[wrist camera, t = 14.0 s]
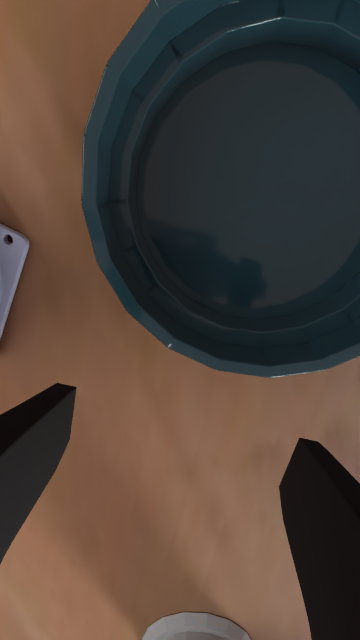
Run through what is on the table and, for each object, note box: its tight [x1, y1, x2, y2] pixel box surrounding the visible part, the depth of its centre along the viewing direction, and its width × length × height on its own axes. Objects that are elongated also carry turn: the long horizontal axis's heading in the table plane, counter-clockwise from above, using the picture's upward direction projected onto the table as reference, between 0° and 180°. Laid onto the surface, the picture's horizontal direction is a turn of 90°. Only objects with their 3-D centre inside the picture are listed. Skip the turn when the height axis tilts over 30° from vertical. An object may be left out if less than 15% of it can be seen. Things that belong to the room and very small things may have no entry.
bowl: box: [81, 0, 360, 378], centre depth 15 cm, size 15×15×4 cm
